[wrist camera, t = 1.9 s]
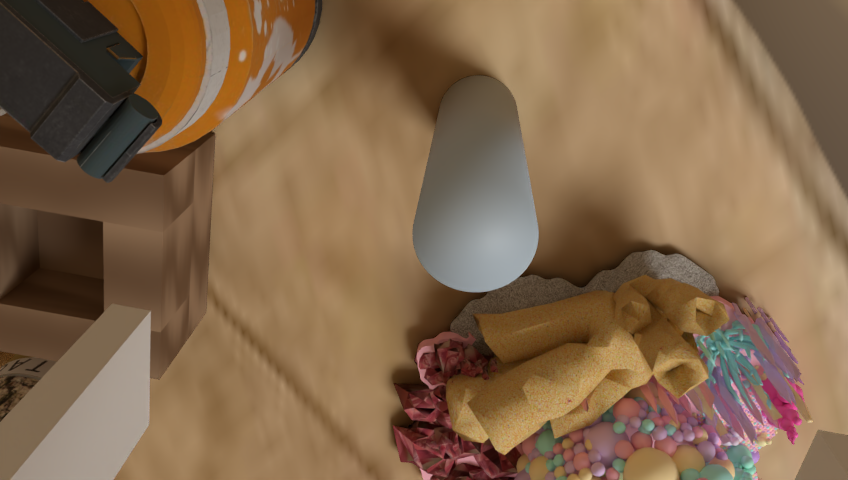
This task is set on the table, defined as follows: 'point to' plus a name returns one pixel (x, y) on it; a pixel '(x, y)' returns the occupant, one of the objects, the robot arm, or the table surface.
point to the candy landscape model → (602, 381)
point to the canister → (140, 70)
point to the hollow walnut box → (101, 245)
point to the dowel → (476, 191)
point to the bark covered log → (20, 379)
